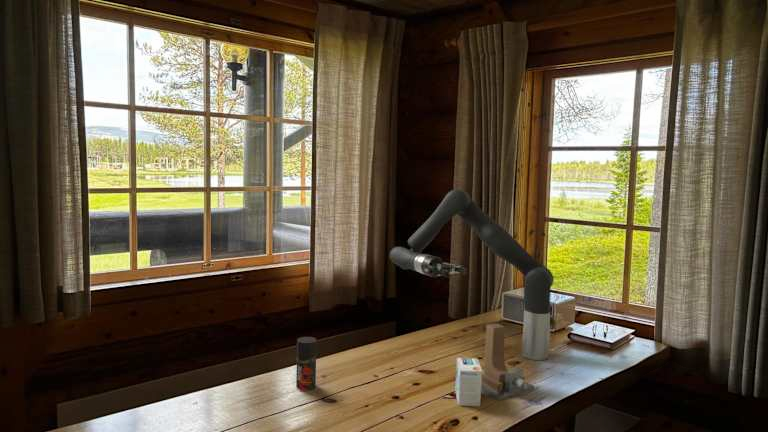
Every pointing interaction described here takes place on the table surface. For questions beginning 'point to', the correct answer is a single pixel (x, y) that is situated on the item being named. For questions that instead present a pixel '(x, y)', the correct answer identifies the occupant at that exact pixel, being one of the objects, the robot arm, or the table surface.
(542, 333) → the robot arm
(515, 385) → the shaft bed
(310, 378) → the deodorant
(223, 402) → the table surface
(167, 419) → the table surface
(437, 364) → the table surface
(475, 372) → the light bulb box
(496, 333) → the wooden block
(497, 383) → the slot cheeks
